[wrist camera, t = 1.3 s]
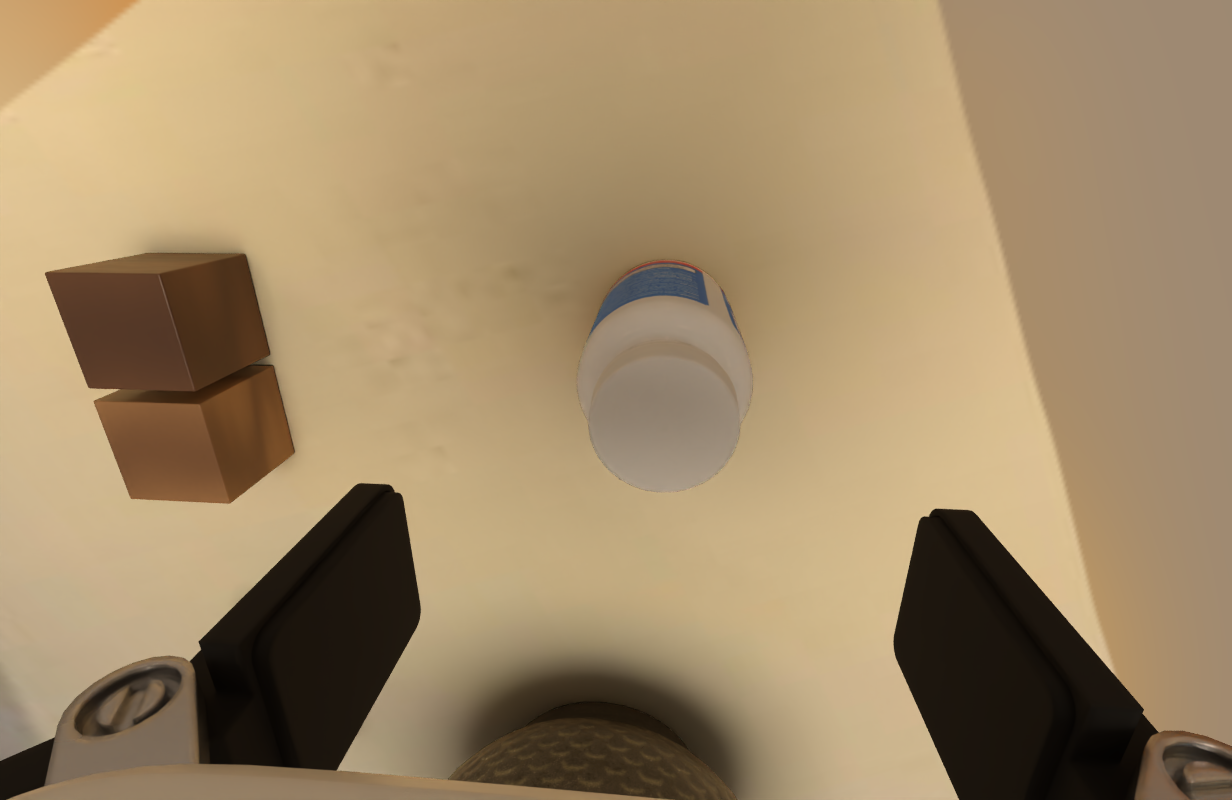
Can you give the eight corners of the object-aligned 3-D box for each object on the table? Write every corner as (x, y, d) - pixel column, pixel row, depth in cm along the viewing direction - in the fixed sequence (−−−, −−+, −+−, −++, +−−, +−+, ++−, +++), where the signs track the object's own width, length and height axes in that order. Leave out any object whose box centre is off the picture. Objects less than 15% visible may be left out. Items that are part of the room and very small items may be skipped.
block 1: (147, 252, 25) (43, 272, 21) (245, 253, 25) (158, 273, 21) (178, 352, 27) (87, 388, 23) (270, 355, 26) (195, 392, 22)
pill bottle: (574, 333, 25) (516, 436, 16) (655, 229, 23) (640, 278, 14) (675, 409, 26) (675, 547, 17) (760, 315, 24) (812, 414, 15)
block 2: (181, 362, 27) (92, 400, 23) (273, 365, 27) (199, 404, 23) (208, 449, 29) (130, 499, 25) (295, 453, 28) (230, 504, 24)
